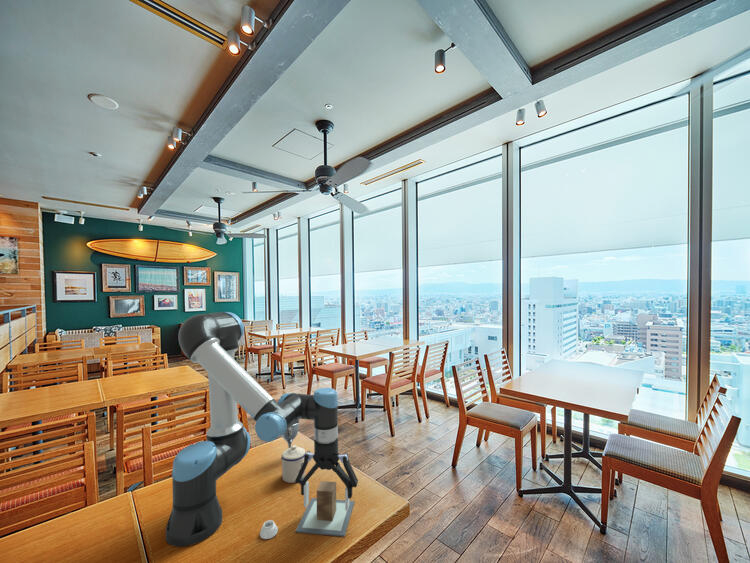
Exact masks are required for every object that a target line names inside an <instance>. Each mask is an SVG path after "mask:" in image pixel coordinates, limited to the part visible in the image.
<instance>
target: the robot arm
mask: <svg viewBox="0 0 750 563" xmlns="http://www.w3.org/2000/svg"><path fill="white" fill-rule="evenodd" d="M244 333H245V326H244V322H243V321H242V319H241V318H240V317H239V316H238V315H237V314H235V313H233V312H230V311H219V312H210V313H200V314H199V313H198V314H195V315H192V316H191V317H188V318H187V319H186V320H185V321H184V322H183V323H182V324H181V325H180V328H179V330H178V339H177V340H178V343H179V347H180V349H181V351H182V352H183V354H184V355H185V356H186V357H187V358H188V359H189V360H190V361H191V363H193V364H197V363H198V364H199V365H200V366H201V367H202V368H203V370H205V371H206V372H207V377H208V391H209V392H208V394H209V397H208V398H209V412H210V415H209V416H210V427H209V428H208V429H207V430H206V434H205V435H206V440H201V441H197V442H195V443H191V444H189V445H187V446H185V447H184V448H182V449H181V450H180V451H178V453H177V454H176V455H175V457H174V458H173V462H172V470H171V477H172V478H171V480H172V509H171V512H170V515H169V518H168V520H167V524H166V526H165V542H166V544H168V545H170V546H172V547H176V548H177V547H179V548H180V547H181V548H182V547H183V548H184V547H188V546H192V545H195V544H198V543H200V542H203V541H205V540H206V539H208V538H209V537H210V536H212V535H213V534H214V533H215V532H216V531H217V530H219V528H220V526H221V525H222V523H223V508H222V506H221V504H220V503H219V499H218V496H217V480H219V479H220V478H221V477H222V476H224V474H226V473H228V472H229V471H230V470H231V469H232V468H233V467H235V466H236V465H237V464H239V463H241V462H242V460H243V459H245V457H246V456H247V455H248V453H249V451H250V447H251V443H252V442H251V441H252V440H251V436H250V433H249V431H248V432H247V429H246V428H245V427H244V424H243V422H241V421H240V420H239V417H238V405H239V406H240V407H241V408H242V409H243V410H244V411H245V413H247V414H248V415H249V416H250V417H251V418H252V419H253V420H254V421H255V424H254V430H255V432H256V436H257V437H258V439H259V440H261V441H263V442H267V443H269V442H270V443H271V442H273V441H275V440H277V439H278V438H280V437H282V434H284V433H285V431H286V430H288V429H289V428H290V427H291V426H292V425H294V424H295V423H296V422H297V421H298V420H299V421H300V420H310V421H311V420H312V421H313V430H314V432H313V433H314V434H313V435H314V437H313V438H314V441H313V443H314V447H313V448H314V449H313V450H314V451H313V452H314V453H313V452H311V451H310V450H307V452H306V454H305V457H304V463H303V465H302V467H301V469H300V471H299V474H298V476H297V478H296V480H295V482H294V483H295V484H299V485H300V494H301V495H302V496H303V507H304V508H307V507H308V505H309V503H310V482H309V481H308V480H309V479H310V478H311V477H312V476H313V475H314V474H315V472H317V470H318V469H320V470H327V471H331V470H332V471H333V472H334V473H336V475H337V476H338V478H339V479H340V481H341V482H342V483H343V484H344V485H345V488H344V500H345V511H348V508H349V501H350V500H351V499H352V497H353V488H357V485H358V483H359V479H358V477H357V475H356V473H355V470H354V469H353V467H352V465H351V464H352V463H351V462H350V459H349V454H348V453H347V452H345V453H344V454H340V453H339V438H338V437H339V430H338V429H339V426H338V425H339V423H338V417H339V416H338V414H339V413H338V412H339V410H338V409H339V402H338V393H337V390H335V388H333V387H332V388H331V387H320V388H317V389H316V390H315V391H314V392H313V394H304V393H295V392H290V393H289V392H288V393H287V392H286V393H283V394H281V395H280V397H279V399H278V401H277V400H276V399H274V397H273V396H271V395H270V393H268V391H267V390H266V389H265V388H264V387H262V386H261V384H259V382H258V381H257V380H256V379H255V378H253V377H252V376H251V375H250V374H249V373H248V372H247V370H246V369H245V368H244V367H242V365H240V363H238V362H237V361H236V360H235V354H236V352H237V351H238V349H239V341H240V340H241V339H242V337H243V336H244ZM312 459H313V461H314V462H315V463H314V465H313V466H312V467H311V468H310V470H309V471H308V472H307V473H306V474H305V476H304V478H302V475H303V473H304V471H305V472H306V469H307V467H308V464H309V462H310V461H312ZM339 461H340V462H341V464H342V465H343V467H344V469H343V468H342V466H341V464H340V462H339Z"/></svg>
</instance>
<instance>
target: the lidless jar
mask: <svg viewBox="0 0 750 563" xmlns="http://www.w3.org/2000/svg"><path fill="white" fill-rule="evenodd" d="M278 530H279V528H278V526H277V525H276V523H275V522H274V520H272V519H269V520H266V521H265V522H264V523H263V524H262V527H261V529H260V531H259V536H260V538H261V539H262V540H268V539H269V540H270V539H272V538H274V537H275V536H276V535H277V534H278Z"/></svg>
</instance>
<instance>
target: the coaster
mask: <svg viewBox="0 0 750 563" xmlns="http://www.w3.org/2000/svg"><path fill="white" fill-rule="evenodd" d="M354 505H355V500H349V508H348V511H345V499H336V512H335V515H334V518H333V521H323V520H317V497H311V499H310V500H309V503H308V505H307V507H306V509H305V510H304V512H303V514H302V516H301V519H300V520H299V523H298V524H297V527H296V528H295V533H299V534H311V535H323V536H334V537H335V536H336V537H346V533H347V530H348V526H349V523H350V520H351V519H350V518H351V517H352V516H351V515H352V512H353V509H354Z"/></svg>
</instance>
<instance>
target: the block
mask: <svg viewBox="0 0 750 563" xmlns="http://www.w3.org/2000/svg"><path fill="white" fill-rule="evenodd" d="M316 498H317V520H323V521H333V518H334V515H335V512H336V500H337V482H336V481H328V480H327V481H326V480H325V481H324V480H321V481H320V483H319V485H318V487H317V489H316Z"/></svg>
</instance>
